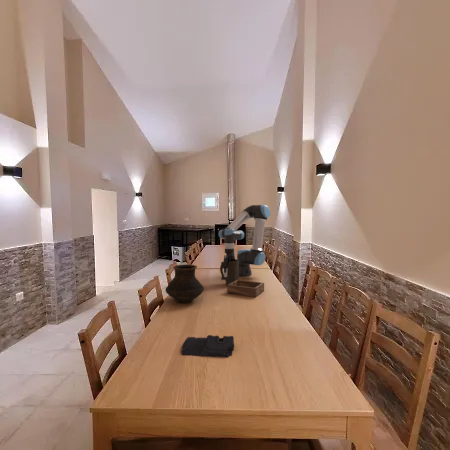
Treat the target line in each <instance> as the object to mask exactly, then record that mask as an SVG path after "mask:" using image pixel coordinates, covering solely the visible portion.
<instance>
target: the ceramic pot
mask: <svg viewBox="0 0 450 450" xmlns="http://www.w3.org/2000/svg"><path fill="white" fill-rule="evenodd" d="M197 268H198V266H197V265H194V264H177V265H174V266H172V269H174V272H175V273H174V277H173V278H172V279H171V281H170V282H169V283H168V285H167V286H166V287H165V293H166V295H168V296H169V297H170V298H172V299H174V300H176V301H177V302H178V303H190V302H193V301H194V300H195V299H197V298H198V297H199V296H200V295H201V294H203V292H204V291H205V287H204V285H203V284H202V283H201V282H200V280H198V278H197V277H196V269H197Z"/></svg>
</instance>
